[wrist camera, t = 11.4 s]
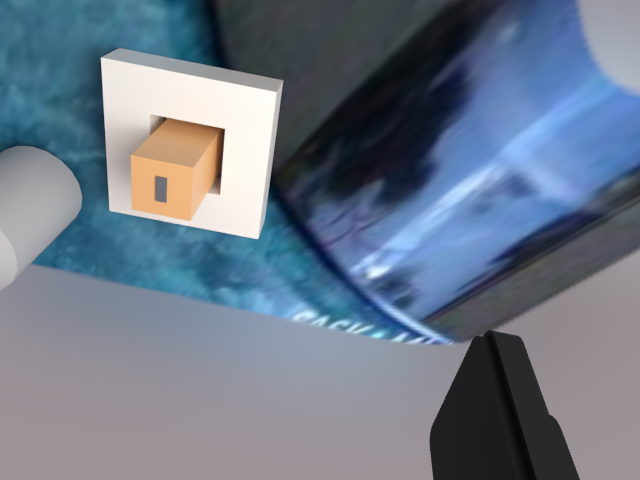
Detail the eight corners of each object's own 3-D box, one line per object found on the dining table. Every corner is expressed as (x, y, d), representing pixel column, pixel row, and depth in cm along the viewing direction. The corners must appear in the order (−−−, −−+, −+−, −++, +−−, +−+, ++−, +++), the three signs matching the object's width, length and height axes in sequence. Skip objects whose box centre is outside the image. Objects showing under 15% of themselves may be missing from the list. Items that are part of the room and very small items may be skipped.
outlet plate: (119, 47, 37) (100, 57, 35) (283, 80, 37) (276, 92, 35) (124, 193, 43) (109, 210, 41) (264, 220, 44) (258, 239, 41)
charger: (172, 113, 39) (130, 155, 32) (224, 124, 39) (193, 168, 32) (170, 161, 41) (131, 210, 34) (220, 171, 41) (189, 222, 35)
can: (83, 150, 42) (-9, 225, 32) (90, 228, 46) (10, 317, 36) (-9, 133, 42) (-131, 203, 31) (6, 213, 46) (-98, 297, 35)
